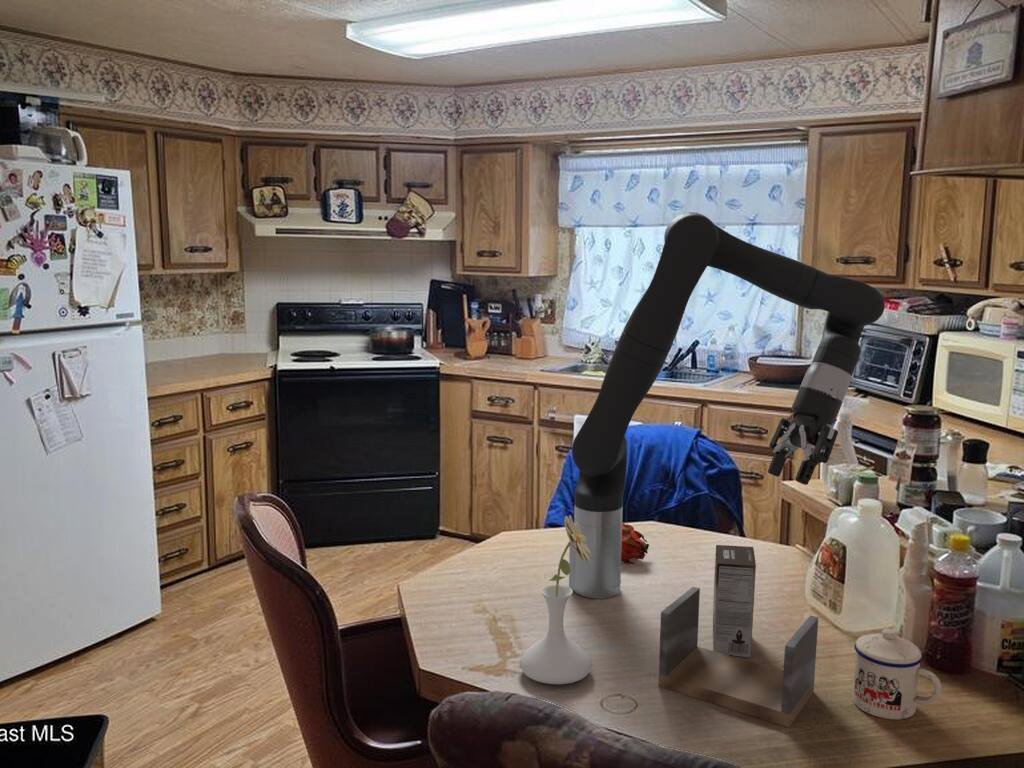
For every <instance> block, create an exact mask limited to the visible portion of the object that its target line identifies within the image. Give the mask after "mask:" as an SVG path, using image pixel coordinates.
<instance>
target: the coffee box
mask: <svg viewBox="0 0 1024 768" xmlns="http://www.w3.org/2000/svg"><path fill="white" fill-rule="evenodd" d="M714 559H715V560H714V580H713V581H714V582H713V583H714V584H713V599H712V600H713V602H712V603H713V604H712V605H713V606H712V607H713V608H712V651H715V652H719V653H723V654H726V655H732V656H733V657H743V658H751V657H752V643H753V642H752V641H753V625H754V624H753V623H754V608H755V606H754V604H755V591H756V589H755V588H756V570H757V563H756V555H755V549H754V546H743V545H741V546H740V545H724V544H715V558H714Z"/></svg>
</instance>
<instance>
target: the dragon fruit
mask: <svg viewBox="0 0 1024 768" xmlns="http://www.w3.org/2000/svg"><path fill="white" fill-rule="evenodd" d="M649 547H650V543H648V540H646V539H645V536H644V535H643V533H641V532H639V531H637V530H635V528H634V526H632V525H630V524H628V523H625V522H622V548H621V563H623V564H624V565H635V564H636V563H634V562H633V561H631V560H642V561H643V560H644V558H645V557H646V554H648V550H649Z"/></svg>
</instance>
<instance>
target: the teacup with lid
mask: <svg viewBox="0 0 1024 768" xmlns="http://www.w3.org/2000/svg"><path fill="white" fill-rule="evenodd" d="M854 650H855V659H854V670H853V671H854V672H853V673H854V674H853V685H852V700H853V703H854V704H855V705H856V706H857V707H858V708H859V709H860V710H861V711H864V712H865V713H867V714H869V715H871V716H874V717H877V718H881V719H885V720H905V719H908V718H910V717H912V716H914V715H915V713H916V711H917V704H922V705H928V704H932V703H933V702H935V701H936V700H937V699H938V698H939V696H940V694H941V690H942V684H941V681H940V679H939V678H938V676H937V675H936V674H935V673H933V672H932V671H930V670H928V669H925V668H920V667H921V663H922V661H923V655H922V651H921V650H920V648H919V647H918V646H917V645H916V644H914V643H913V642H911V641H910V640H907V639H906V638H902V637H901V636H899V635H898V633H897V631H896V630H895V629H891V628H883V630H881V632H879V633H867V634H863V635H861V636H860V637H858V639H857V640H856V641H855V644H854ZM920 676H922V677H925V678H927V679H928V680H930V682H932V685H933V686H934V690H933V693H932V695H930V696H920V695H918V693H919V691H918V690H919V678H920Z"/></svg>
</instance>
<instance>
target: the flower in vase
mask: <svg viewBox="0 0 1024 768" xmlns="http://www.w3.org/2000/svg"><path fill="white" fill-rule="evenodd" d="M563 523H564V528H565V531H566V535H567V537H568V540H569V541H568V542H567V545H566V546H565V548H564V550H563V552H562V554H561V557H560V560H559V563H558V568H557V573H556V574H554V576H552V578H550V579H549V580H548V581H549V582H550V581H551V582H555V581H556V584H549V585H545V586H543V587H542V588H540V593H541V595H542V596H543V598H544V599H545V602H546V604H547V609H548V622H549V623H548V631H547V634H546V635H545V636H544V637H543V638H542V639H540V640H538V641H537V642H535V643H534V644H532V645H531V646H530V647H528V648H527V649H526V650H525V651H524V652H523V653H522V655H521V657H520V659H519V668H520V669H521V670H522V672H523V674H524V675H525V676H527V678H529V679H532V680H533V681H535V682H539V683H542V684H547V685H548V684H549V685H567V684H572V683H575V682H578V681H580V680H581V681H582V680H583V679H585V678H586V677H587V675H589V674H590V672H591V671H592V667H593V663H592V661H591V658H590V655H589V654H588V653H587V652H586V651H585V650H584V649H583V648H582V647H581V646H579V645H578V644H577V643H575V642H573V641H572V640H571V639H570V638H568V637H567V636H566V634H565V630H564V615H565V610H566V606H567V604H568V603H567V602H568V600H569V599H570V597H571V596H572V595H573V592H574V590H572V589H571V588H569V586H567V585H565V584H559V583H560V581H561V580H562V579H565V578H566V576H569V573H570V566H569V560H567V559H564V557H565V556H566V553H567V551H568V550H569V547H570V544H572V547H573V549H574V551H575V553H576V554H577V556H578V557H579V558H580V560H581V561H582V562H583V561H584V562H585V563H586V562H588V561H590V559H589V557H588V555H587V554H586V553H588V554H591V552H590V550H589V549H588V547H587V545H586V544H585V542H586V541H587V540H586V537H585V536H584V535H582V533H581V531H580V530H579V525H578V523H577V522H576V524H574V519H573V517H572V516H571V514H570V515H568V516H567V515H565V516H564V522H563ZM587 560H588V561H587ZM561 572H562V573H563V574H564V575H566V576H561V575H560V573H561Z"/></svg>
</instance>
